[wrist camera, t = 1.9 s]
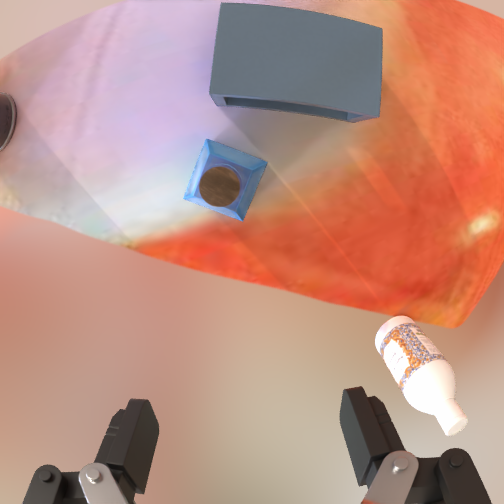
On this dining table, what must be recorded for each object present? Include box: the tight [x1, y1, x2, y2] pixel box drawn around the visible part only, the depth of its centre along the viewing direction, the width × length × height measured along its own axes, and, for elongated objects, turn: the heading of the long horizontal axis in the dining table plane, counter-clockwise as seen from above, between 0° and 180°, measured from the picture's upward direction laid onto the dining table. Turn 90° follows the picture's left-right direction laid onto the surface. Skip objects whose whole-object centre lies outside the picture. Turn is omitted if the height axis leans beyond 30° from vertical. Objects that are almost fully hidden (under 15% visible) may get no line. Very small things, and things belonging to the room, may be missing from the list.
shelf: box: [209, 3, 382, 123], centre depth 27 cm, size 16×10×8 cm, turn 85°
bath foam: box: [375, 316, 468, 436], centre depth 33 cm, size 7×7×20 cm
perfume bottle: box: [183, 139, 268, 222], centre depth 29 cm, size 6×6×12 cm
